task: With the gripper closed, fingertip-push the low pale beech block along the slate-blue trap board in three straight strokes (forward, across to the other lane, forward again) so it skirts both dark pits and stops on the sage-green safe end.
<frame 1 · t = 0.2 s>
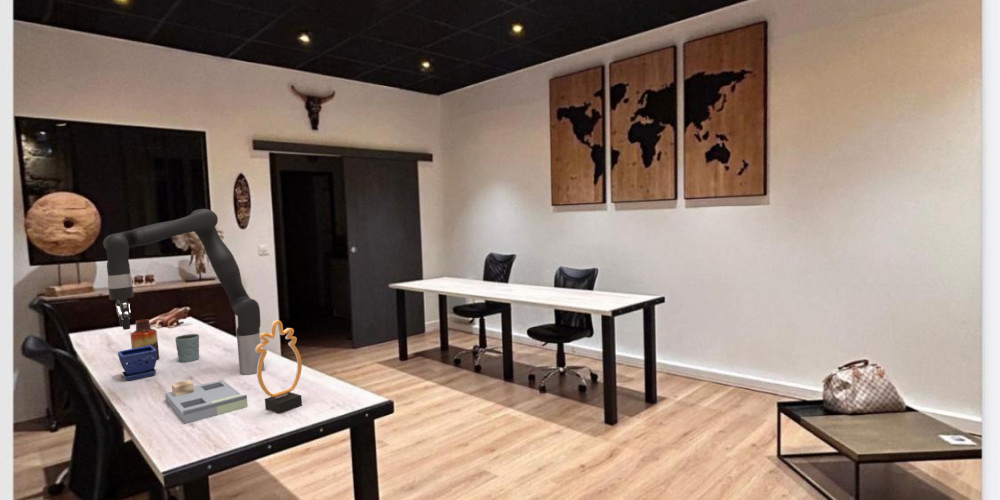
hand: (125, 327, 200), 28 cm above the table, fingers open, 8 cm apart
beech block: (183, 392, 199), point 3 cm above the table, touching trap board
flower pot: (139, 376, 233), on the table
teal cup: (189, 360, 256), on the table
vase: (146, 361, 259), on the table
trap board: (205, 403, 194), on the table
lamp: (283, 407, 187), on the table
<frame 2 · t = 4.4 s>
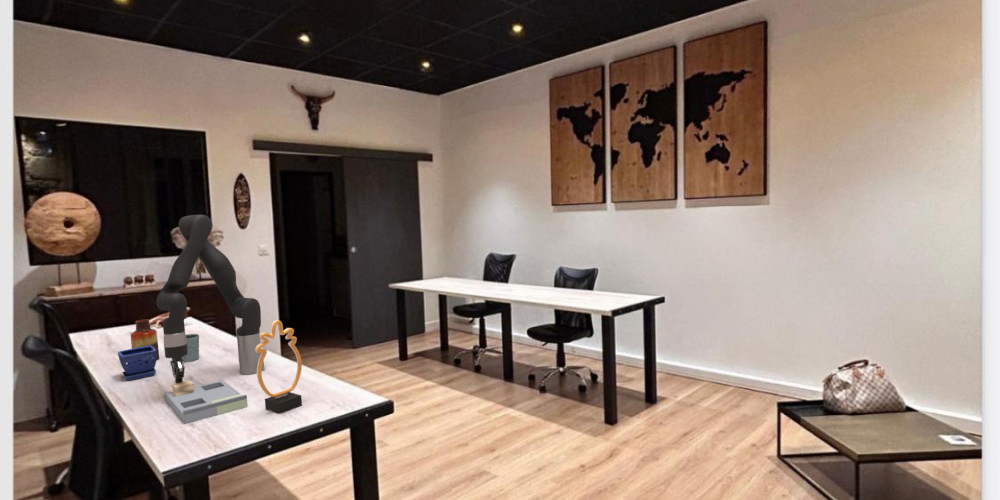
hand: (179, 387, 202), 4 cm above the table, fingers closed
beech block: (183, 392, 199), point 3 cm above the table, touching gripper
everything else where it was.
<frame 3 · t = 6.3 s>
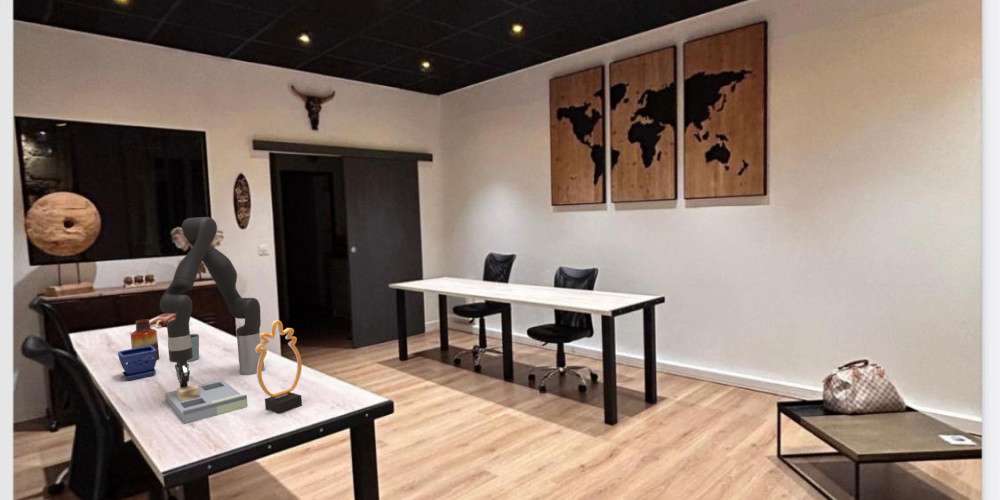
hand: (184, 392, 197), 4 cm above the table, fingers closed
beech block: (188, 397, 193), point 3 cm above the table, touching gripper, trap board
everything else where it was.
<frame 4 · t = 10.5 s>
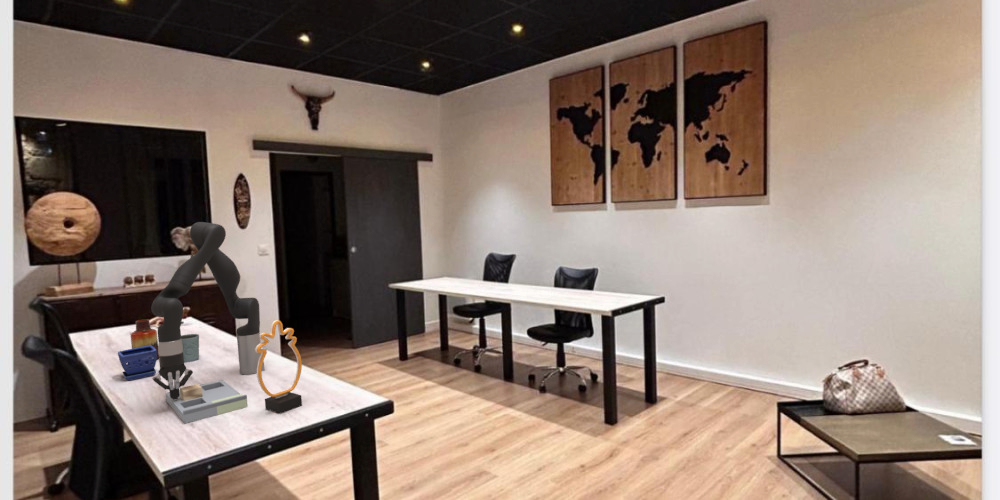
hand: (175, 398, 190), 4 cm above the table, fingers closed
beech block: (191, 396, 193), point 3 cm above the table, touching gripper
everything else where it was.
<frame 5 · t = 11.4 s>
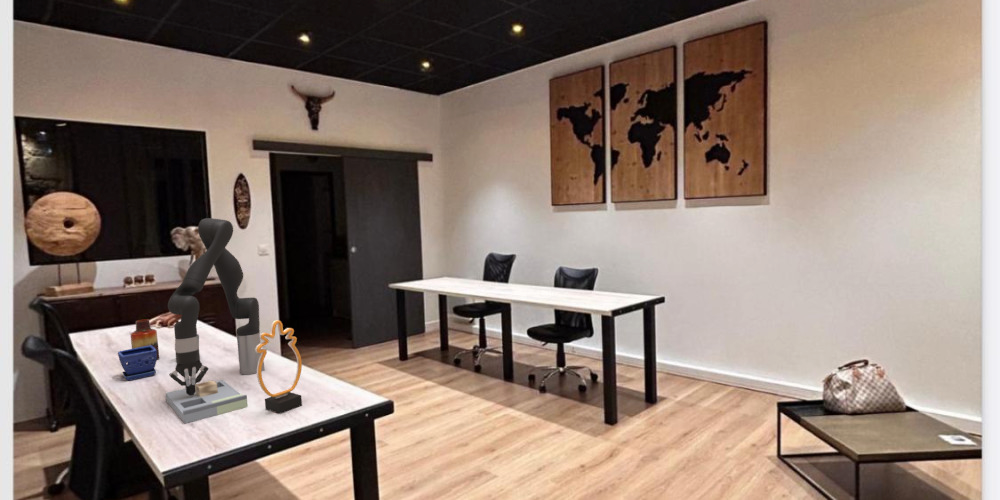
hand: (191, 394, 194), 4 cm above the table, fingers closed
beech block: (206, 393, 197), point 3 cm above the table, touching gripper
everything else where it was.
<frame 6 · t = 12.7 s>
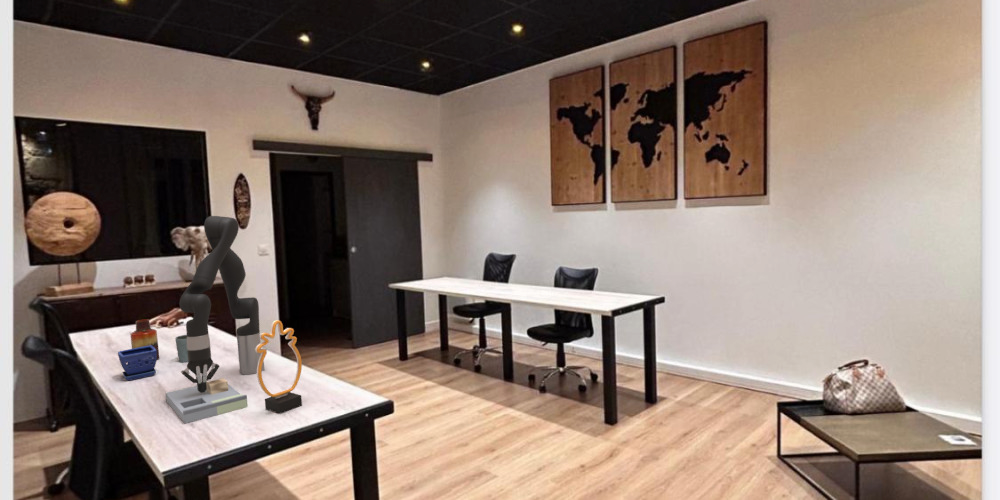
hand: (202, 391, 196), 4 cm above the table, fingers closed
beech block: (217, 390, 199), point 3 cm above the table, touching gripper, trap board
everything else where it was.
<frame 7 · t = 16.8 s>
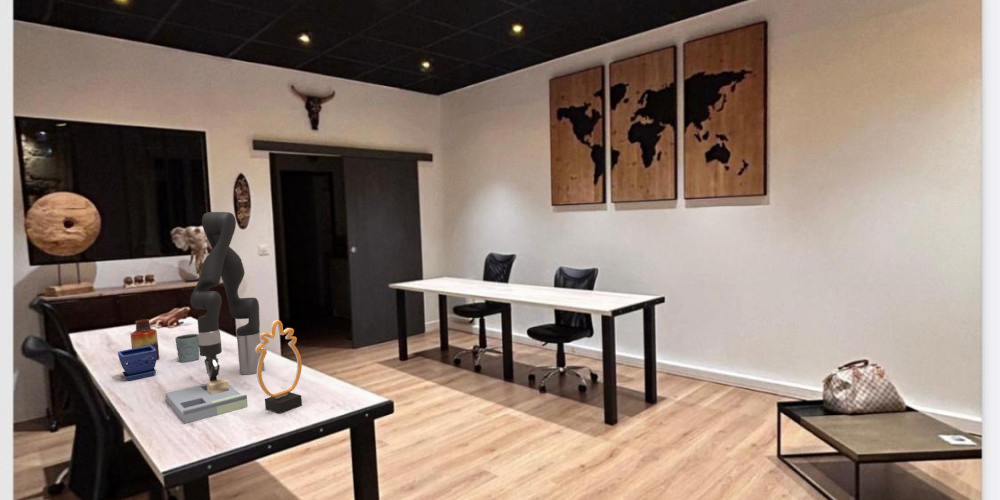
hand: (213, 385, 203), 4 cm above the table, fingers closed
nothing on the table moved.
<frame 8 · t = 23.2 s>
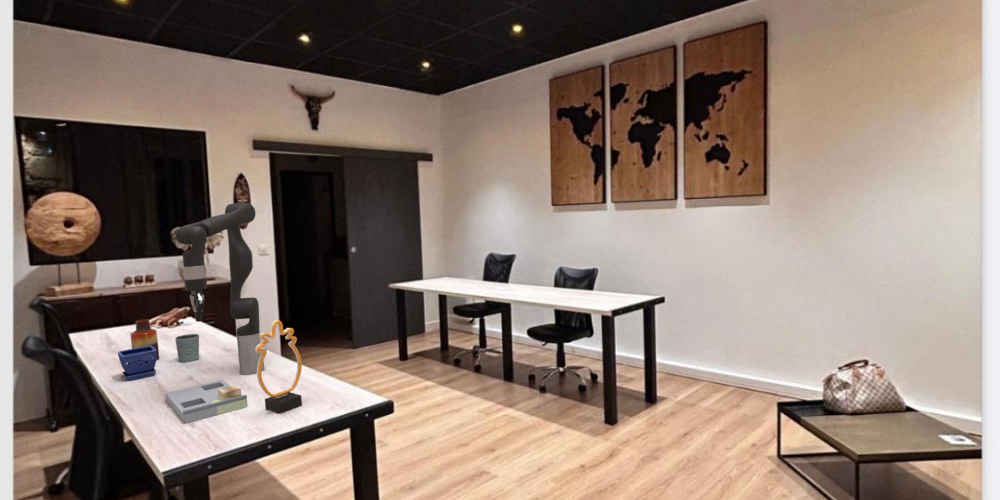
hand: (199, 321, 204), 29 cm above the table, fingers closed
beech block: (230, 398, 190), point 3 cm above the table, touching trap board
everything else where it was.
at the end: beech block inside the target area (1.1 cm from its centre), point 3.0 cm above the table; beech block tilted 0° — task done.
